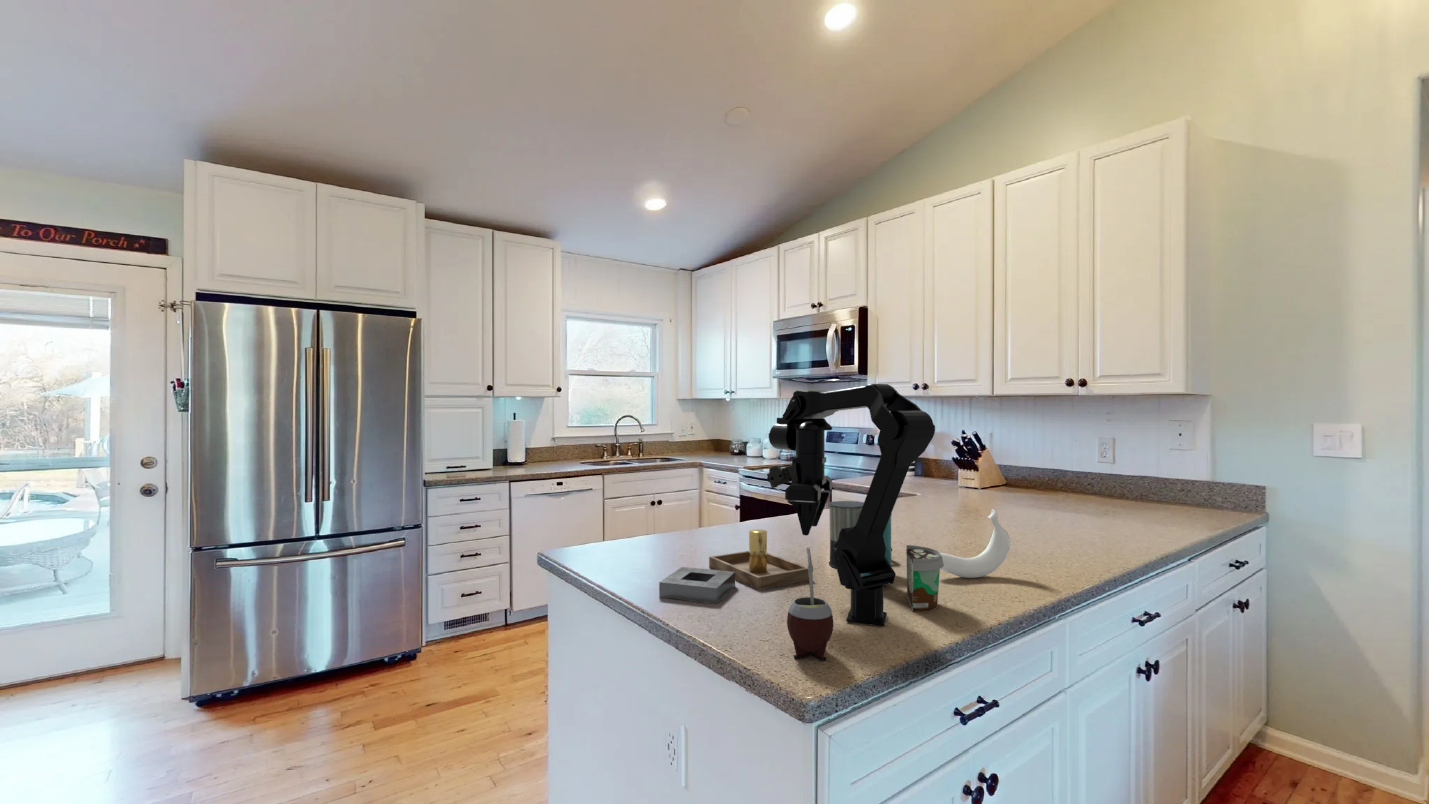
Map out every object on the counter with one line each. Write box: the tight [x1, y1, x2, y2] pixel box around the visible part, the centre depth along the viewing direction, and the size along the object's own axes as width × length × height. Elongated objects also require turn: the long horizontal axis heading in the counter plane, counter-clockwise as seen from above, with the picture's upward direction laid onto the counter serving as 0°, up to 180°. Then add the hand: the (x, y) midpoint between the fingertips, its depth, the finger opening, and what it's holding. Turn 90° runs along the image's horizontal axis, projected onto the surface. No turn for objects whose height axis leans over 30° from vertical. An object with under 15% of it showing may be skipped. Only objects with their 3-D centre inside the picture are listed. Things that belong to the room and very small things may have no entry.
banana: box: [940, 508, 1011, 579], centre depth 136 cm, size 5×19×15 cm, turn 100°
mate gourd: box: [786, 547, 834, 663], centre depth 94 cm, size 8×8×15 cm
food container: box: [905, 544, 944, 613], centre depth 117 cm, size 12×6×10 cm, turn 168°
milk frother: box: [827, 500, 893, 569], centre depth 147 cm, size 14×16×15 cm
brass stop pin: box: [748, 529, 768, 574], centre depth 138 cm, size 4×4×9 cm
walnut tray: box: [708, 550, 809, 591], centre depth 138 cm, size 20×14×2 cm
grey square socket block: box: [658, 566, 736, 605], centre depth 125 cm, size 12×12×3 cm
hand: (809, 530), depth 122 cm, fingers open, 9 cm apart
